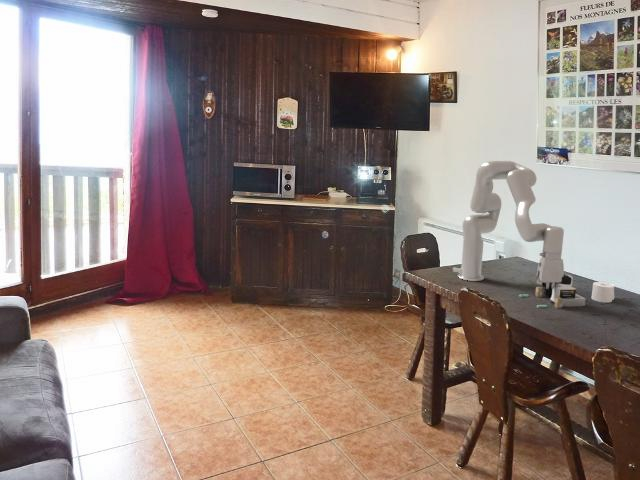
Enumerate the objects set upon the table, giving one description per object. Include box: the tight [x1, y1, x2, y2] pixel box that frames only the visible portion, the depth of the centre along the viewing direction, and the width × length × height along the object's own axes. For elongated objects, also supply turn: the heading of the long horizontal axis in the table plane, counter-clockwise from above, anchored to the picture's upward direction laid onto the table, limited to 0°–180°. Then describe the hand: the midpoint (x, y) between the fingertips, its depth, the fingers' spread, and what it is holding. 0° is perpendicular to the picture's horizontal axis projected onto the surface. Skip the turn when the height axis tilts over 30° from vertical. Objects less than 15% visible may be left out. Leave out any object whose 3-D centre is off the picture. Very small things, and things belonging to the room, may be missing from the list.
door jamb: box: [534, 286, 563, 309], centre depth 240 cm, size 2×18×4 cm, turn 7°
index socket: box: [561, 293, 586, 307], centre depth 241 cm, size 10×14×3 cm
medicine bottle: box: [549, 273, 577, 303], centre depth 238 cm, size 7×7×12 cm
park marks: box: [519, 294, 548, 309], centre depth 239 cm, size 4×16×1 cm, turn 8°
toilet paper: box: [591, 281, 615, 304], centre depth 246 cm, size 8×11×7 cm
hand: (547, 297), depth 239 cm, fingers closed
